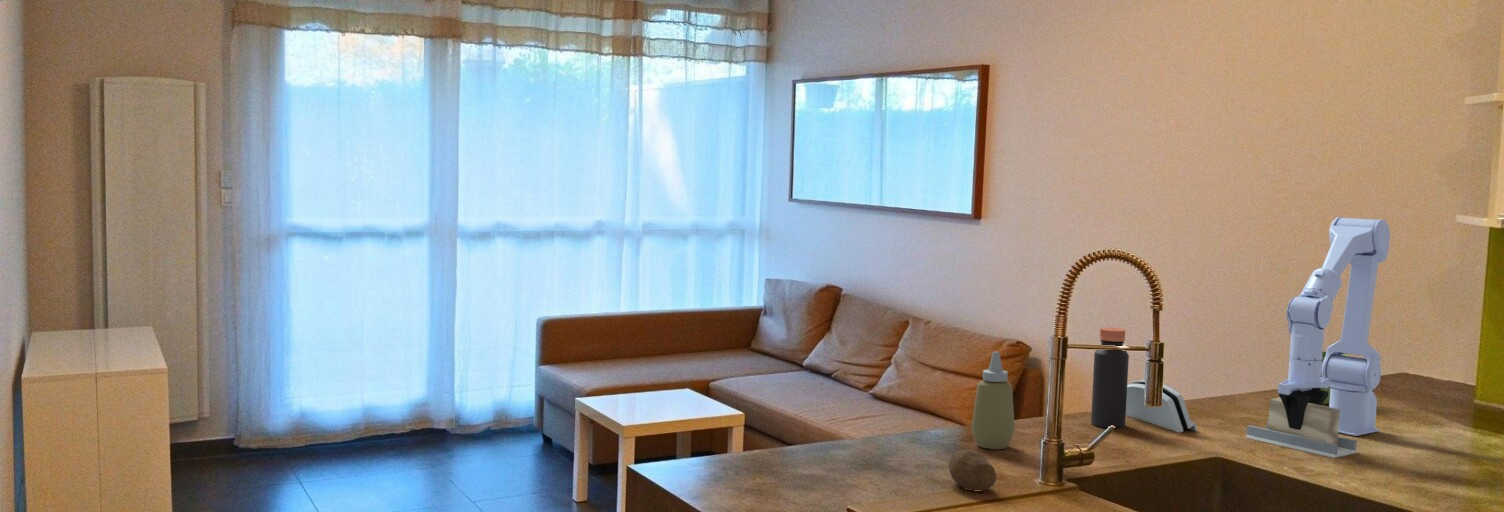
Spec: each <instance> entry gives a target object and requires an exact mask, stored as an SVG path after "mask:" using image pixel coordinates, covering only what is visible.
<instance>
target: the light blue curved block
mask: <svg viewBox="0 0 1504 512" xmlns="http://www.w3.org/2000/svg"><path fill="white" fill-rule="evenodd" d="M1145 380H1146V379H1145ZM1145 380H1144V379H1142V380H1141V379H1140V380H1137V381H1132V382H1131V383H1129V384H1127V400H1126V417H1130V418H1133V419H1136V420H1139V419H1140V420H1139V421H1142V420H1143V421H1142V422H1145V421H1146V422H1145V423H1148V422H1149V423H1148V424H1151V423H1152V424H1151V425H1154V424H1155V425H1154V426H1157V425H1158V427H1160V426H1161V428H1163V427H1164V428H1163V429H1166V428H1167V429H1166V430H1169V429H1170V430H1169V431H1172V430H1173V431H1172V432H1175V431H1176V432H1175V433H1178V432H1180V433H1183V432H1184V429H1187V428H1188V430H1190V429H1191V431H1194V432H1198V428H1197V424H1196V422H1195V421H1192V420H1191V418H1190V416H1189V412H1188V408H1187V405H1186V403H1185V400H1184V398H1183V396H1182V394H1181V393H1180V392H1178V391H1177V390H1175V389H1173V388H1172V387H1170V386H1168V385H1165V384H1164V383H1162V384H1163V392H1162V406H1161V407H1146V406H1145V405H1144V388H1145Z"/></svg>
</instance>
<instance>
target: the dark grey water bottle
mask: <svg viewBox="0 0 1504 512" xmlns="http://www.w3.org/2000/svg"><path fill="white" fill-rule="evenodd" d="M1099 331H1100V333H1099V342H1100V344H1101V345H1115V346H1123V347H1124V344H1125V341H1126V330H1125V329H1124V328H1118V327H1101V328H1100V330H1099ZM1101 345H1100V346H1101ZM1129 355H1130V354H1129V353H1128V351H1126V350H1125V351H1122V350H1097V349H1096V350H1095V351H1094V358H1093V373H1092V374H1093V375H1092V376H1093V377H1092V391H1091V392H1092V393H1091V394H1092V396H1091V417H1090V422H1091V424H1092V425H1093V426H1095V427H1099V428H1104V429H1108V428H1107V427H1108V426H1111V425H1114V426H1115V427H1116V428H1115V429H1123V428H1124V427H1125V426H1126V420H1127V419H1126V417H1127V415H1126V400H1127V385H1128V380H1129V379H1128V377H1129V360H1130V359H1129V357H1130V356H1129Z"/></svg>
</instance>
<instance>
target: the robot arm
mask: <svg viewBox="0 0 1504 512" xmlns="http://www.w3.org/2000/svg"><path fill="white" fill-rule="evenodd" d="M1328 231H1329V232H1328V237H1329V244H1330V247H1329V250H1328V252H1327V255H1326V256H1325V259H1324V261H1323V264H1322V266H1321V268H1317V269H1314V270H1313V271H1312V273H1311V275H1310V276H1309V279H1308V280H1307V282H1306V284H1305V285H1304V287H1303V289H1302V291H1301V293H1300V294H1299V295H1298V296H1295V297H1294V298H1291V299H1290V300H1289V302H1288V305H1287V309H1286V312H1285V313H1286V320H1287V323H1288V326H1287V327H1288V328H1287V330H1288V333H1289V334H1290V344H1289V345H1290V346H1289V360H1288V361H1289V362H1288V363H1289V364H1288V375H1287V376H1288V378H1287V379H1285V380H1284V381H1283V382H1279V383H1278V384H1277V385H1278V387H1277V393H1278V396H1279V397H1278V398H1281V400H1282V402H1283V405H1284V407H1285V410H1286V415H1287V420H1288V424H1289V428H1292V429H1297V430H1301V427H1302V424H1303V419H1304V413H1305V409H1306V407H1307V404H1308V403H1312V404H1316V405H1321V406H1323V405H1324V404H1323V402H1324V401H1325V399H1326V398H1327V397H1328V392H1327V391H1323V390H1321V388H1329V387H1331V388H1330V402H1329V404H1328V405H1329V406H1328V407H1331V408H1336V409H1340V419H1339V432H1338V434H1343V435H1348V436H1349V435H1350V436H1354V437H1356V436H1357V437H1358V436H1363V435H1368V434H1372V433H1376V432H1377V433H1378V432H1380V428H1376V421H1377V419H1376V418H1377V407H1378V401H1377V396H1376V395H1375V393H1374V392H1373V391H1374V389H1376V387H1378V385H1379V383H1380V382H1381V378H1382V377H1381V376H1382V367H1381V358H1382V357H1381V354H1380V353H1379V351H1377V349H1375V348H1374V346H1372V345H1371V344H1370V343H1369V342H1368V341H1369V334H1370V328H1371V327H1370V326H1371V320H1372V319H1371V318H1372V312H1373V304H1374V298H1375V292H1376V291H1375V290H1376V283H1377V276H1378V269H1379V264H1380V263H1383V262H1384V261H1387V260H1388V259H1387V258H1388V254H1389V249H1390V240H1391V229H1390V226H1389V223H1387V221H1386V219H1381V218H1379V219H1370V218H1351V217H1349V218H1348V217H1341V216H1337V217H1335V218H1334V219H1333V220H1332V222H1331V223H1330V226H1329V230H1328ZM1349 264H1350V271H1349V278H1348V287H1347V294H1346V301H1345V308H1344V314H1343V322H1342V329H1341V335H1340V340H1338V341H1336V342H1335V343H1333V344H1331V345H1329V346H1328V347H1327V349H1326V356H1325V359H1324V361H1323V364H1322V353H1323V351H1324V333H1325V328H1327V326H1328V325H1329V324H1330V321H1331V319H1332V312H1333V309H1334V304H1333V302H1334V300H1335V299H1336V297H1337V295H1338V293H1339V291H1340V289H1341V288H1342V285H1343V280H1342V278H1341V275H1342V274H1343V272H1344V271H1345V270H1346V268H1347V267H1348V265H1349ZM1342 354H1345V355H1349V354H1350V355H1349V356H1343V355H1342ZM1351 355H1356V356H1361V357H1356V356H1351ZM1350 356H1351V357H1350ZM1321 368H1322V377H1321Z"/></svg>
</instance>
